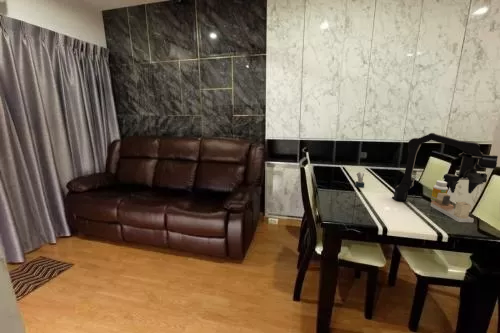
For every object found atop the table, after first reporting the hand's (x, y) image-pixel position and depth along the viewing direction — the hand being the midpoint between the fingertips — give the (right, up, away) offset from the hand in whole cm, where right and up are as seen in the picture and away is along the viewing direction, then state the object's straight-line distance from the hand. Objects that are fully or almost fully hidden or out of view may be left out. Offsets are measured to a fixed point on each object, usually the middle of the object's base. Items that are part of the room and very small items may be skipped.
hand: (460, 193), depth 130 cm
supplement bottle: (+3, -7, +20) cm, 22 cm away
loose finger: (-4, -8, +8) cm, 12 cm away
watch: (-35, 0, +45) cm, 57 cm away
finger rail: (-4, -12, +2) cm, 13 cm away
